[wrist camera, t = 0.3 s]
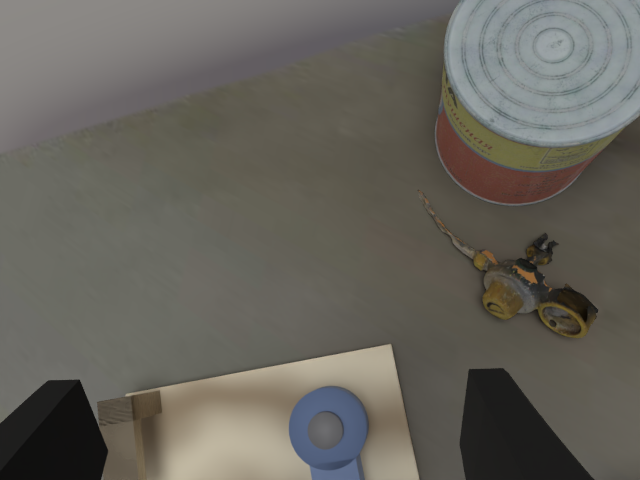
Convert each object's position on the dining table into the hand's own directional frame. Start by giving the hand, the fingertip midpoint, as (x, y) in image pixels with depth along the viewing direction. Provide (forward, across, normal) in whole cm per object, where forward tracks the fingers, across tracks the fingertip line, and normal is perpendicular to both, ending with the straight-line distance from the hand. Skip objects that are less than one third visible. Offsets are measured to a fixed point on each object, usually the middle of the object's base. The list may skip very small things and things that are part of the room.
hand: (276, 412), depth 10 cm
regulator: (+25, -12, +14) cm, 31 cm away
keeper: (+19, +13, +24) cm, 34 cm away
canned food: (+31, -14, +6) cm, 35 cm away
